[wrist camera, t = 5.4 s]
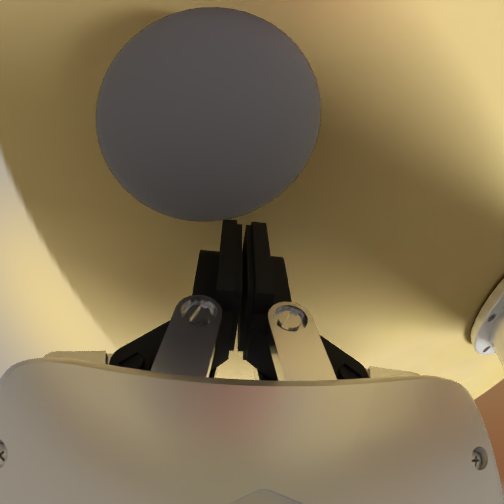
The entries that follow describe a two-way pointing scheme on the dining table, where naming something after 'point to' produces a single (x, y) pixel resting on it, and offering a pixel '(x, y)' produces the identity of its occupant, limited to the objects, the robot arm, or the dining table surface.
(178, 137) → the grey ball
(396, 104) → the dining table surface
